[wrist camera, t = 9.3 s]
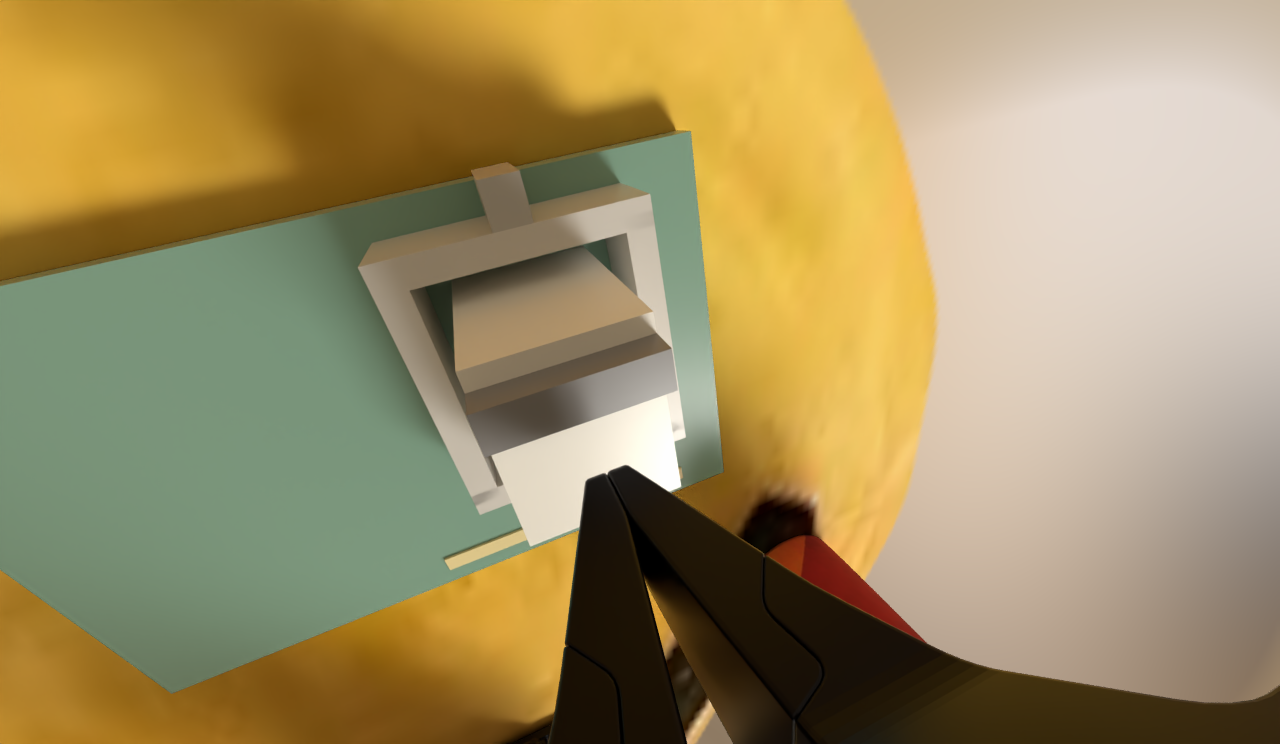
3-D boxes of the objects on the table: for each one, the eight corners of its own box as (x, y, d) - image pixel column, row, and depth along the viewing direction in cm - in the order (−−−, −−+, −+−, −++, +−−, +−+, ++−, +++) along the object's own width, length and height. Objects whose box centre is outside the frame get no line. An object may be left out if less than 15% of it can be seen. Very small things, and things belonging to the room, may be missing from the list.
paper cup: (737, 541, 26) (974, 886, 14) (850, 506, 28) (1135, 778, 17) (725, 630, 30) (907, 961, 18) (826, 593, 32) (1045, 864, 20)
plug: (613, 380, 17) (694, 508, 12) (504, 416, 16) (535, 573, 11) (582, 245, 15) (668, 325, 9) (451, 279, 14) (455, 392, 8)
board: (713, 458, 22) (753, 509, 19) (184, 666, 18) (133, 774, 15) (676, 121, 15) (732, 122, 12) (-252, 324, 10) (-531, 406, 7)
